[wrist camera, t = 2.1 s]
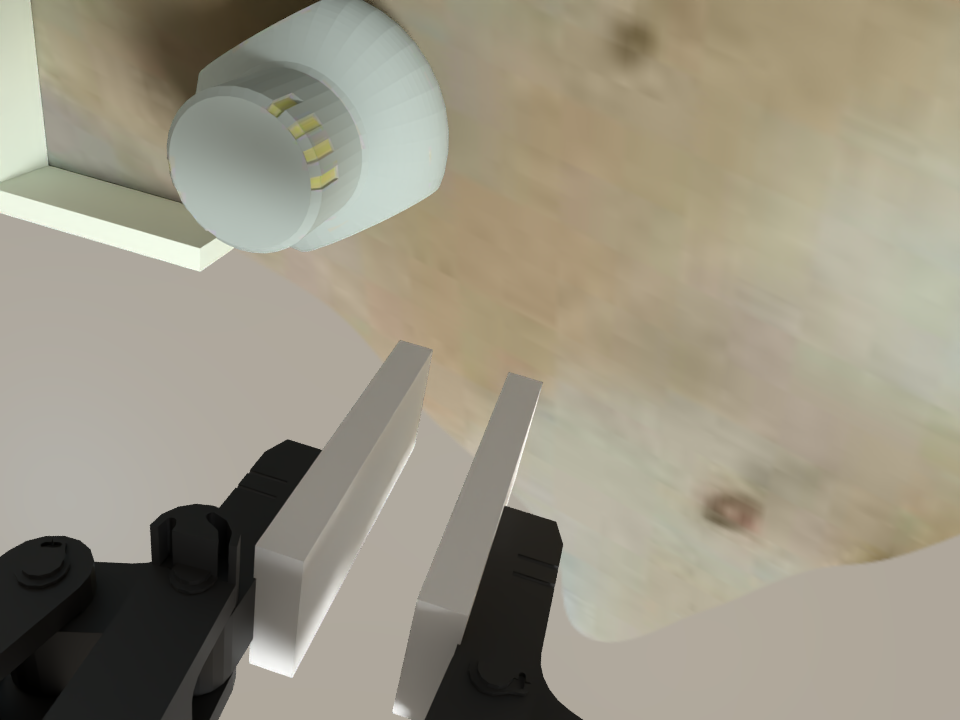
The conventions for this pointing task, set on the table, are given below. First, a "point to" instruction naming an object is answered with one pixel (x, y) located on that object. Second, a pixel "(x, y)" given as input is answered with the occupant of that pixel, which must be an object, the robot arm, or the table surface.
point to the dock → (70, 196)
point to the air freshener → (310, 131)
